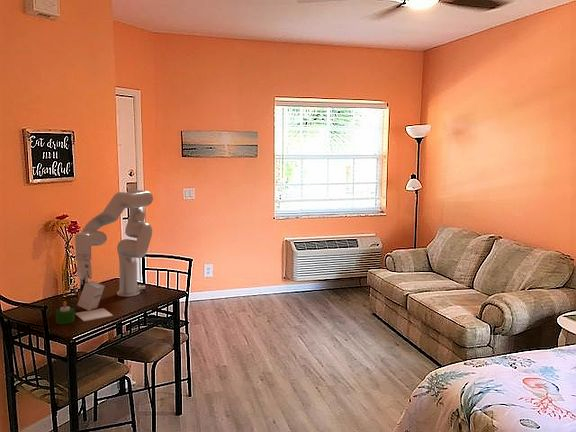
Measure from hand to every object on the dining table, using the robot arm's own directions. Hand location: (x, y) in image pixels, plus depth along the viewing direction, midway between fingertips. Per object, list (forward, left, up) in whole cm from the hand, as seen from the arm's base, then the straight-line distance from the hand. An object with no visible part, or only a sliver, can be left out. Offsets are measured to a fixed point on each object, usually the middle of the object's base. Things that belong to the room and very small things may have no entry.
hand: (84, 291), depth 258 cm
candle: (+13, +15, -9) cm, 22 cm away
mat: (0, +14, -9) cm, 16 cm away
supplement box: (0, +3, -8) cm, 8 cm away
